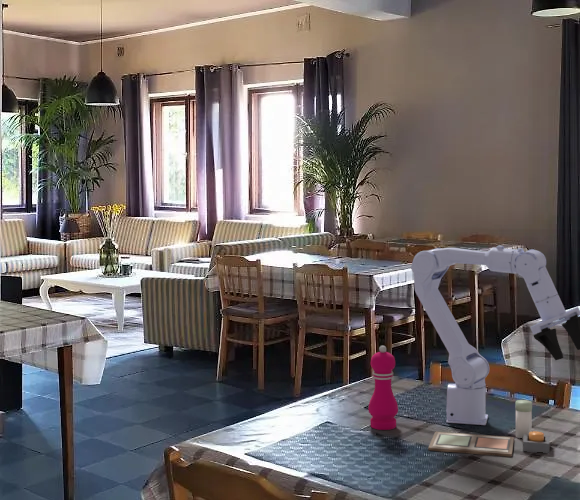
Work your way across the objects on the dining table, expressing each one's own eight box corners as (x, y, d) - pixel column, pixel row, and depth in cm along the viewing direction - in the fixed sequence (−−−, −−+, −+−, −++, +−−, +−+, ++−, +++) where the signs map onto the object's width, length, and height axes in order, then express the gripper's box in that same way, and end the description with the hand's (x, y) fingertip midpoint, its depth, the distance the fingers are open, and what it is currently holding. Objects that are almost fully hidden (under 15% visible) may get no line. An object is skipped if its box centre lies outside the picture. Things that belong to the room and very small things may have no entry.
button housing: (522, 451, 189) (522, 441, 189) (523, 443, 194) (523, 434, 194) (549, 453, 187) (549, 443, 187) (549, 445, 193) (549, 435, 192)
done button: (528, 443, 190) (528, 435, 189) (529, 438, 193) (529, 430, 192) (543, 444, 189) (543, 436, 188) (543, 439, 192) (543, 431, 191)
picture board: (428, 450, 191) (428, 446, 191) (435, 433, 202) (435, 430, 202) (511, 456, 186) (511, 453, 185) (514, 439, 197) (514, 436, 197)
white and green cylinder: (514, 438, 198) (515, 403, 197) (515, 433, 202) (515, 399, 201) (531, 439, 197) (531, 404, 196) (531, 434, 200) (532, 400, 200)
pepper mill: (397, 431, 205) (396, 349, 203) (366, 430, 206) (366, 348, 204) (399, 422, 212) (398, 343, 210) (370, 421, 213) (369, 342, 211)
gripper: (536, 303, 192) (561, 360, 190) (579, 285, 199) (604, 340, 197) (516, 311, 198) (540, 366, 196) (558, 294, 205) (582, 347, 203)
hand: (570, 353), depth 197 cm, fingers open, 7 cm apart
